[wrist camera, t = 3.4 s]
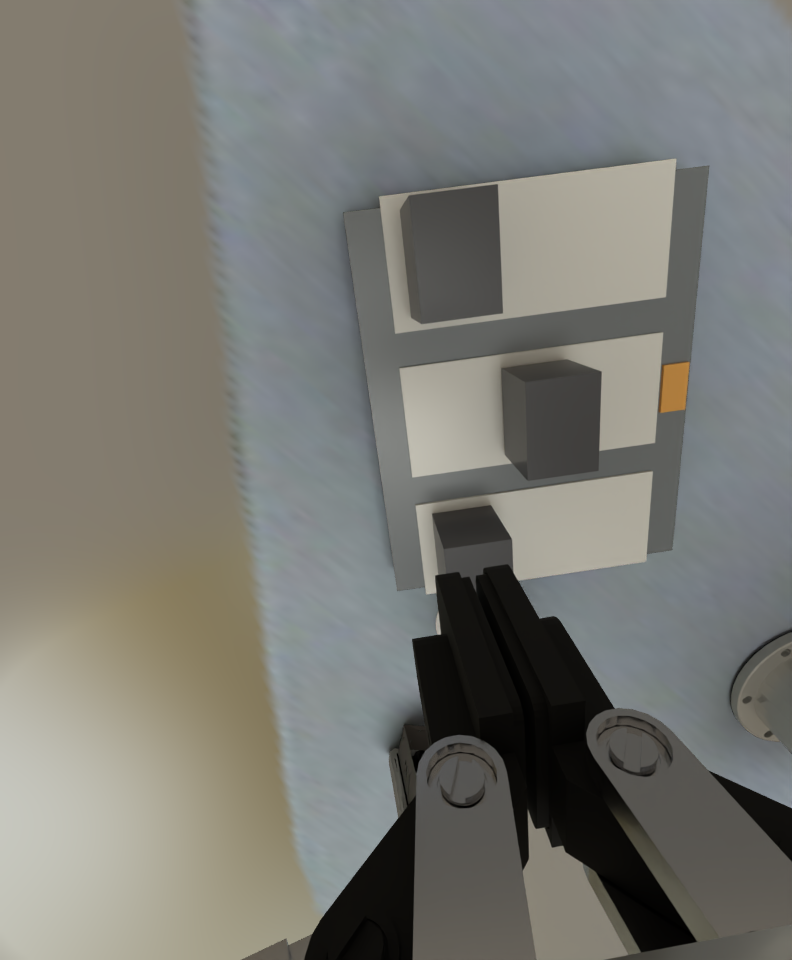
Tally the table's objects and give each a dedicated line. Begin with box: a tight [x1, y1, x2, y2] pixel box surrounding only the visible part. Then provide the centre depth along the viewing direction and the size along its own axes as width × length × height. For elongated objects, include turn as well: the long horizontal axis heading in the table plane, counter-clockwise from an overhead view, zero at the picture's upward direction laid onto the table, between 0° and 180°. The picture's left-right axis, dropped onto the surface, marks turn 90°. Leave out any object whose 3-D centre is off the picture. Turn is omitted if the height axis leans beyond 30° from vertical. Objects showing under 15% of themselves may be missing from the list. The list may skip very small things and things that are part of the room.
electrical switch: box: [389, 725, 429, 818], centre depth 41 cm, size 9×5×9 cm, turn 80°
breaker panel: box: [343, 159, 709, 594], centre depth 30 cm, size 20×25×8 cm
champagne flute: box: [436, 611, 628, 960], centre depth 30 cm, size 7×7×24 cm
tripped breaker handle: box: [501, 359, 602, 481], centre depth 29 cm, size 4×6×4 cm
